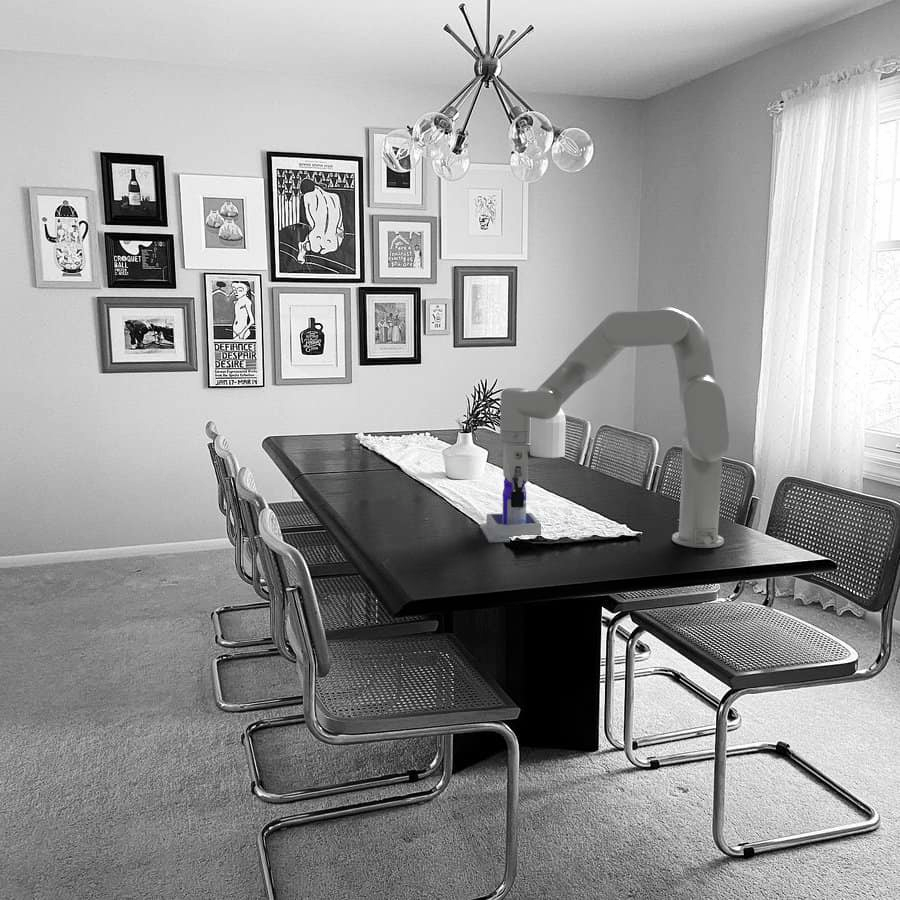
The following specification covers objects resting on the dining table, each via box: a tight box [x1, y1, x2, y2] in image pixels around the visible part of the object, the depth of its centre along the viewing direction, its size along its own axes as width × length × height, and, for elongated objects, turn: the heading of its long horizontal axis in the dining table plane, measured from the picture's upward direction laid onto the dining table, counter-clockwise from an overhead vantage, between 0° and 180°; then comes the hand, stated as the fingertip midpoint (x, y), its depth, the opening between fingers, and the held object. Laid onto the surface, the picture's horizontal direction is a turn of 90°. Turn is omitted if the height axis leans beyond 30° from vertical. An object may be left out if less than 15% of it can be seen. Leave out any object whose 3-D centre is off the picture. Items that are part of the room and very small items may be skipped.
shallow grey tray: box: [479, 512, 542, 543], centre depth 239 cm, size 15×15×4 cm
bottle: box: [502, 472, 527, 524], centre depth 237 cm, size 7×6×17 cm
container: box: [529, 407, 567, 459], centre depth 352 cm, size 14×13×20 cm
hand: (513, 502), depth 238 cm, fingers open, 9 cm apart
